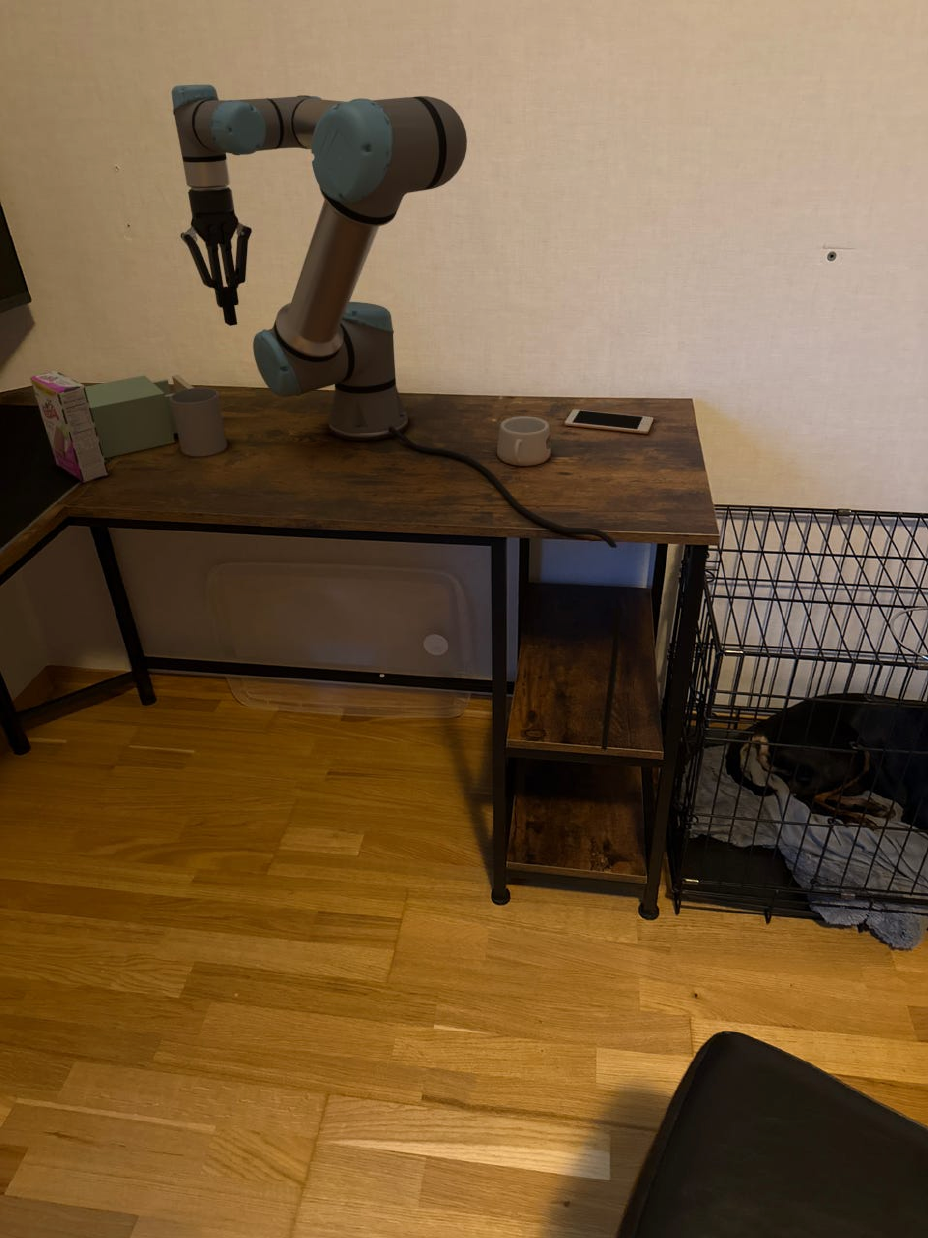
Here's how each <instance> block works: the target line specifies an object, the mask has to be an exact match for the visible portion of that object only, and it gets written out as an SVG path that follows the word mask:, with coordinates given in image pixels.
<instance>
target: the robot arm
mask: <svg viewBox="0 0 928 1238" xmlns="http://www.w3.org/2000/svg"><path fill="white" fill-rule="evenodd" d="M171 99H172V106H173V107H172V108H173V109H172V113H173V117H174V121H175V127H176V132H177V138H178V142H179V148H180V154H181V159H182V165H183V171H184V176H185V182H186V186H187V187H188V188H190V189H189V190H188V192H187V194H188V201H189V206H190V213H191V220H190V227H189V228H188V229H187V230H186V231H185V232H181V233H180V234H179V235H180V236H179V237H180V239H181V240H182V241H183V242H184V243H185V245H186V246H187V247H188V248H187V249H188V250H189V252H190V255H191V257H192V260H193V263H194V264H195V267H196V269H197V271H198V274H199V276H200V279H201V281H202V284H203V285H204V286H206V287H208V288H210V289H213V290H214V294H215V295H214V296H215V301H216V304H217V307H219V308H221V309H222V313H223V321H224V323H225V324H226V325H228V326H230V327H231V326H237V325H238V320H237V319H238V318H237V313H236V306H239V295H238V288H239V285H241V284H245V283H246V280H247V279H246V278H247V265H248V264H247V261H248V247H249V241H250V237H251V235H252V233H253V230H252V229H253V228H251V227H249V226H248V225H244V224H243V223H241V222H240V221H239V218H238V217H237V215H236V213H235V204H234V197H233V192H232V189H231V188H230V187H229V185H230V184H231V178H230V177H231V176H230V170H229V164H228V158H227V154H231V155H233V156H238V157H239V156H247V155H248V156H249V155H252V154H255V153H256V152H261V151H262V152H263V151H273V150H279V149H293V148H294V149H304V150H311V152H310V153H311V154H312V155H313V156H314V157H313V159H312V161H311V166H312V171H313V174H314V177H315V180H316V182H317V184H318V187H319V191H320V194H321V196H322V198H323V199H324V200H323V203H322V206H321V209H320V212H319V215H318V217H317V221H316V224H315V227H314V230H313V233H312V237H311V239H310V243H309V246H308V249H307V251H306V255H305V258H304V261H303V265H302V268H301V270H300V273H299V277H298V280H297V283H296V285H295V290H294V292H293V295H292V297H291V301H290V302H288V303H286V304H284V305H283V306H282V307H281V308H280V309H279V310H278V312H277V314H276V316H275V320H274V323H273V325H272V327H271V328H269V329H266V328H265V329H264V328H263V329H262V330H261V331H258V332H256V334H255V335H254V338H253V341H252V348H253V356H254V360H255V363H256V366H257V370H258V371H259V374H260V377H261V378H262V380H263V382H264V383H265V385H266V386H267V388H268V389H269V390H270V391H271V392H272V393H273V394H274V395H276V396H278V397H281V398H283V399H284V398H285V399H286V398H290V397H294V396H296V397H300V396H301V395H304V394H307V393H311V392H315V391H318V390H321V389H324V388H327V387H332V386H334V394H333V397H332V402H331V407H330V412H329V415H328V427H329V431H330V433H331V434H332V435H333V436H336V437H337V438H339V439H343V440H347V441H354V442H372V441H380V440H386V439H390V438H393V437H395V436H396V437H397V438H399V440H401V441H403V443H405V444H406V445H407V446H409V447H410V448H411V449H414V450H416V451H419V452H422V453H426V454H433V455H441V456H446V457H451V458H455V459H458V460H461V461H463V462H465V463H467V464H469V465H471V466H472V467H474V468H476V469H477V470H478V471H480V472H481V473H482V474H484V475H485V476H486V477H487V479H489V480H490V481H491V482H492V484H493V485H494V487H496V489H497V490H498V491H499V492H500V493H501V494H502V495H503V497H505V499H506V500H507V501H508V502H509V504H510V505H512V506H513V508H515V509H516V510H517V511H518V512H520V513H521V514H522V515H524V516H525V517H527V518H528V519H530V520H532V522H533V521H534V522H535V523H537V524H539V525H540V526H543V527H546V528H548V529H550V530H553V531H555V532H558V533H562V534H567V535H587V536H594V537H598V538H599V539H602V540H603V541H604V542H606V544H607V545H608V546H609V547H610V548H612V549H616V548H618V546H617V544H616V542H615V540H613V538H612V537H611V536H610V535H608V534H607V533H605V532H604V531H602V530H600V529H596V528H591V527H590V528H589V527H566V526H562V525H560V524H557V523H554V522H552V521H550V520H547V519H544V518H543V517H541V516H539V515H537V514H535V513H533V512H532V511H531V510H529V509H527V508H526V507H524V506H523V505H522V504H520V502H519V501H517V500H516V499H515V498H514V496H513V495H512V494H511V493H510V491H508V489H507V488H505V486H504V485H503V484H502V483H501V482H500V480H499V479H498V478H497V477H496V476H495V474H494V473H493V472H491V471H490V470H489V469H488V468H487V467H485V466H484V465H483V464H481V463H480V462H478V461H477V460H476V459H473V458H471V457H469V456H466V455H464V454H461V453H460V452H457V451H454V450H449V449H443V448H442V449H440V448H433V447H429V446H428V447H427V446H424V445H420V444H417V443H415V442H414V441H412V440H411V439H410V438H409V437H407V436H406V435H405V434H403V433H404V432H405V431H406V430H407V429H408V426H409V421H408V413H407V411H406V408H405V406H404V403H403V400H402V398H401V395H400V393H399V390H398V387H397V381H396V380H397V378H396V363H395V362H396V361H395V345H394V344H395V343H394V334H395V331H394V328H393V327H394V325H393V320H392V314H391V312H390V310H389V309H388V308H386V307H385V306H382V305H380V304H375V303H369V302H362V301H361V302H360V301H351V299H352V296H353V294H354V292H355V288H356V286H357V283H358V281H359V278H360V276H361V274H362V272H363V269H364V266H365V264H366V261H367V259H368V256H369V254H370V251H371V249H372V246H373V244H374V242H375V239H376V236H377V234H378V231H379V230H380V227H381V226H385V225H387V224H389V223H391V222H392V221H393V220H394V219H395V217H396V215H397V213H398V211H399V208H400V207H401V204H402V201H403V199H404V197H405V195H406V194H409V193H417V192H423V191H428V190H434V189H437V188H439V187H442V186H443V185H445V184H447V183H448V182H449V181H451V180H452V179H453V178H454V176H456V175H457V174H458V173H459V170H460V169H461V168H462V166H463V163H464V161H465V158H466V153H467V148H468V146H467V145H468V137H467V132H466V128H465V123H464V122H463V120H462V118H461V116H460V115H459V113H458V112H457V110H456V109H455V108H453V106H452V105H450V104H449V103H448V102H447V101H444V100H442V99H440V98H437V97H433V96H428V95H419V96H418V95H417V96H407V97H406V96H405V97H396V98H395V97H393V98H384V99H383V98H381V99H369V98H354V99H351V100H348V101H343V100H334V99H333V100H332V99H322V98H321V97H319V96H317V95H306V94H303V95H301V94H300V95H296V96H283V97H272V98H271V97H270V98H269V97H267V98H265V97H264V98H248V99H247V98H246V99H244V98H243V99H225V100H223V99H219V95H218V92H217V89H216V88H215V86H213V85H212V84H182V85H175V86H173V88H172V89H171ZM235 233H236V235H237V238H236V249H235V251H236V252H235V264H234V257H233V251H232V249H233V245H232V239H233V237H234V235H235ZM197 235H198V237H199V238H200V239H201V240H202V241H203V242H204V245H205V249H206V252H207V257H208V263H209V268H208V266H207V264H206V261H205V259H204V256H203V254H202V251H201V249H200V246H199V244H198V243H197V241H198V237H197ZM219 248H220V253H221V260H222V266H223V267H222V268H223V273H224V278H225V285H227V286H225V285H224V282H223V281H224V280H223V274H222V268H221V262H220V255H219ZM209 270H210V271H209ZM620 628H621V604H618V605H615V606H613V627H612V629H613V630H612V642H611V643H612V645H611V657H610V664H609V665H610V666H609V673H608V675H609V676H608V684H607V691H606V692H607V693H606V702H605V709H604V717H603V728H602V737H601V738H602V739H601V749H604V750H606V749H607V750H608V743H609V734H610V733H609V732H610V722H611V716H612V715H611V714H612V706H613V699H614V698H613V697H614V691H615V682H616V674H617V664H618V656H619V645H620V643H619V642H620V631H621V630H620Z"/></svg>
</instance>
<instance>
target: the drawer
mask: <svg viewBox="0 0 928 1238" xmlns="http://www.w3.org/2000/svg"><path fill="white" fill-rule="evenodd" d="M171 378H172V383H173V387H174V393H176V392H178V391H181V390H184V389H191V388H195V387H194V386H193V385H191V384H190V383H189V382H188V381H186V380H185V379H184V378H182V376H180V375H179V374H174V375H171ZM151 382H152V383H154V384H155V385H156V386H157V387H158V388H159V389H160V390H162V391H163V392H164V393H165V398H166V402H167V407H168V412H169V416H170V421H171V426H172V430H173V435H175V434H178V433H177V428H176V423H175V418H174V414H173V409H172V404H171V395H173V394H174V393H171V388H170V383H169V380H168V378H166V379H160V380H155V381H151Z"/></svg>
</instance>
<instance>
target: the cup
mask: <svg viewBox="0 0 928 1238" xmlns="http://www.w3.org/2000/svg"><path fill="white" fill-rule="evenodd" d="M172 394H173V395H171V404H172V409H173V414H174V418H175V423H176V428H177V433H176V434H177V438H178V442H179V447H180V451H181V453H183V454H184V455H186V456H190V457H207V456H211V455H216V454H218V453H221V452H223V451H224V450H226V448H227V447H228V442H227V437H226V436H227V435H226V431H225V424H224V419H223V414H222V409H221V404H220V402H221V401H220V398H219V392H218V391H217V390H216V389H214V388H209V387H194V388H191V389H184V390H181V391H178V392H176V393H175V392H174V393H172Z"/></svg>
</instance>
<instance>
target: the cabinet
mask: <svg viewBox="0 0 928 1238" xmlns="http://www.w3.org/2000/svg"><path fill="white" fill-rule="evenodd" d="M152 382H153V381H151V380H150V379H149V378H148V377H147V376H146V375H140V376H134V377H128V378H123V379H119V380H113V381H108V382H107V381H106V382H102V383H97V384H92V385H88V386H87V385H85V390H86V394H87V398H88V401H89V405H90V408H91V412H92V416H93V419H94V423H95V427H96V431H97V434H98V438H99V442H100V445H101V449H102V453H103V456H104V459H108V458H113V457H117V456H121V455H126V454H129V453H134V452H139V451H143V450H147V449H152V448H156V447H162V446H164V445H170V444H173V443H176V441H175V440H176V439H175V434H173V430H172V426H171V421H170V416H169V412H168V407H167V402H166V398H165V393H164V392H163V391H162V390H160V389H159V388H158V387H157V386H156V385H155V384H154V383H152Z"/></svg>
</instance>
